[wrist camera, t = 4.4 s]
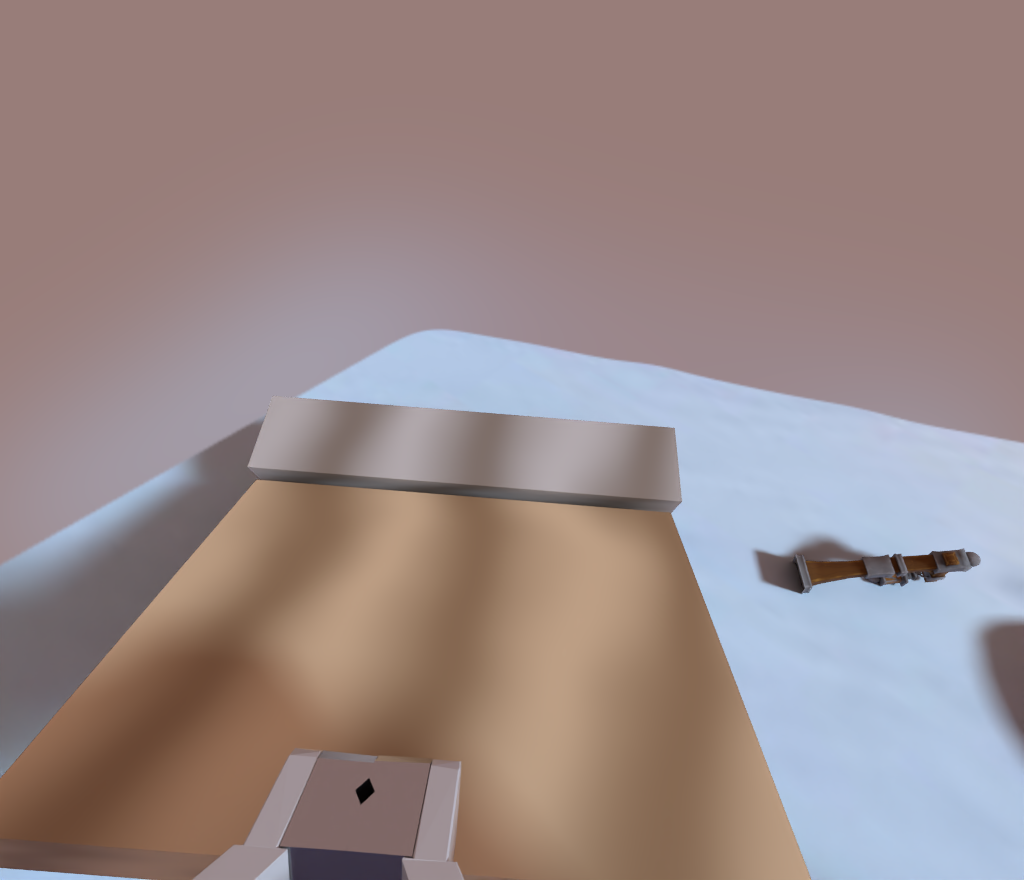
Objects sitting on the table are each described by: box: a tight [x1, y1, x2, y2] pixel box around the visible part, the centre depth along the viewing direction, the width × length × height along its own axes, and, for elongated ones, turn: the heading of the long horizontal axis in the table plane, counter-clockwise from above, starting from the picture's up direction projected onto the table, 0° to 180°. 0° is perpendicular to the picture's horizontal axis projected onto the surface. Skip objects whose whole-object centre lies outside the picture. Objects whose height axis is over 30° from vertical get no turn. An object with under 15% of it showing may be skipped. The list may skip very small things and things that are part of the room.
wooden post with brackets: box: [793, 549, 981, 593], centre depth 27 cm, size 2×8×4 cm, turn 90°
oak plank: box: [0, 480, 811, 880], centre depth 16 cm, size 18×13×2 cm
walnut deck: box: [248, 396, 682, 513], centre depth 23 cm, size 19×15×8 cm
